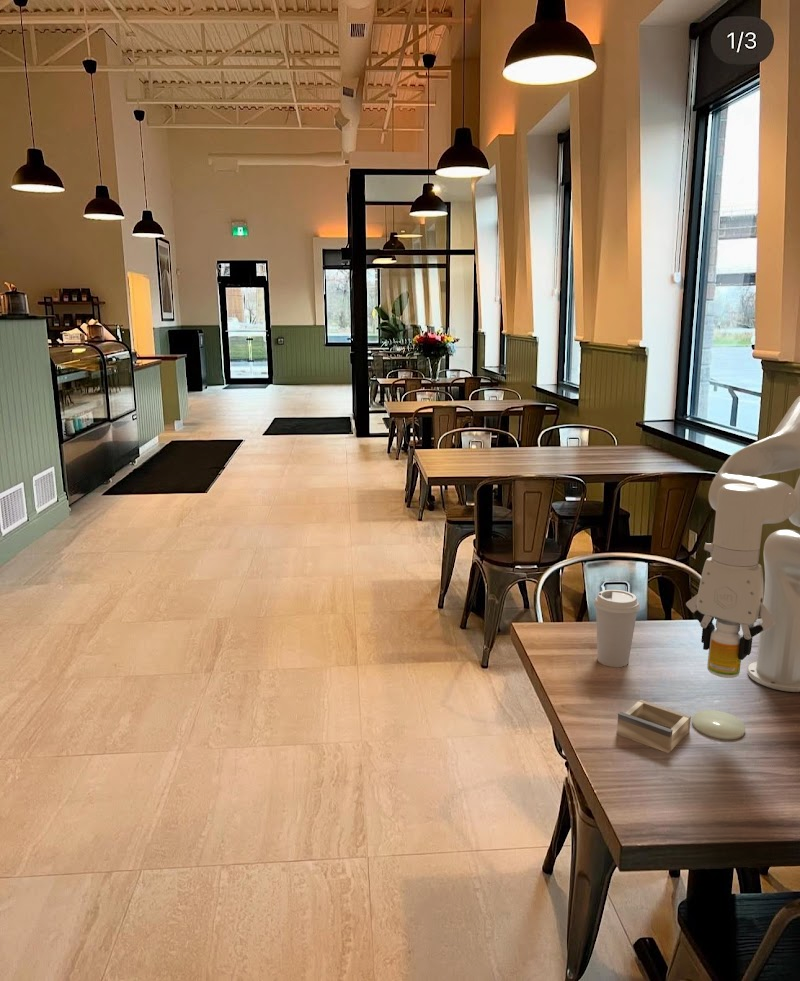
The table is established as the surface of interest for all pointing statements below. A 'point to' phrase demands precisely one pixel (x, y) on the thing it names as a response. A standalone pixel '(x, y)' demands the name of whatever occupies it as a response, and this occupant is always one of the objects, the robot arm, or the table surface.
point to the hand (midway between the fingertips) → (725, 651)
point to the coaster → (718, 724)
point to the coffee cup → (615, 626)
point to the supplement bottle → (724, 649)
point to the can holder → (653, 725)
